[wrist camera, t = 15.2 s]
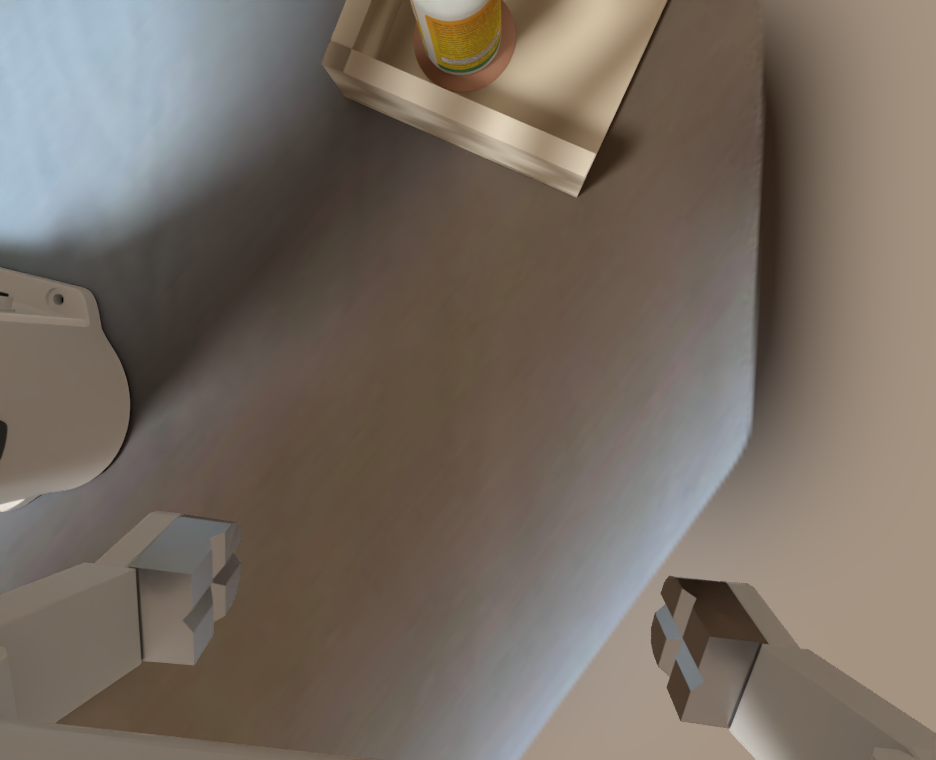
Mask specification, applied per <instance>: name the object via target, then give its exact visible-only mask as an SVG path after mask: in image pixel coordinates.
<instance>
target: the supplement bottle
mask: <svg viewBox="0 0 936 760" xmlns="http://www.w3.org/2000/svg"><path fill="white" fill-rule="evenodd" d="M410 2H411V5H412V8H413V12H414V15H415V18H416V22H417V25H418V29H419V32H420V36H421V39H422V42H423V45H424V48H425V51H426V53H427V55H428V57H429V59H430V60H431V61H432V63H433V64H434V65H435V66H436V67H438V68H439V69H440V70H442V71H444V72H445V73H448V74H452V75H470V74H474V73H476V72H478V71H480V70H482V69H483V68H485V67H486V66H487V65H488V64H489V63H490V62H491V61H492V60H493V58H494V57H495V55H496V53H497V51H498V48H499V45H500V41H501V29H502V25H501V23H502V21H501V0H410Z"/></svg>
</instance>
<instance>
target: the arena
mask: <svg viewBox="0 0 936 760" xmlns="http://www.w3.org/2000/svg"><path fill="white" fill-rule="evenodd" d="M666 2H667V0H501V21H502V23H501V25H502V29H501V41H500V45H499V48H498V51H497V53H496V55H495V57H494V58H493V60H492V61H491V62H490V63H489V64H488V65H487V66H486V67H485V68H483V69H482V70H480V71H478V72H476V73H474V74H470V75H452V74H448V73H445V72H444V71H442V70H440V69H439V68H438V67H436V66H435V65H434V64H433V63H432V61H431V60H430V59H429V57H428V55H427V53H426V51H425V48H424V45H423V42H422V39H421V36H420V32H419V29H418V25H417V22H416V18H415V15H414V12H413V8H412V5H411V2H410V0H346V2H345V4H344V7H343V9H342V12H341V14H340V17H339V20H338V22H337V25H336V27H335V30H334V32H333V35H332V37H331V40H330V42H329V45H328V47H327V50H326V52H325V55H324V57H323V60H322V62H321V64H322V65H323V66H324V68H325V69H326V71H327V72H328V74H329V75H330V77H331V78H332V79H333V81H334V82H335V84H336V85H337V87H338V88H339V90H340V91H341V92H342V94H343V95H344V97H346V98H348V99H351V100H353V101H355V102H358V103H360V104H362V105H364V106H367V107H369V108H371V109H374V110H376V111H378V112H381V113H383V114H385V115H387V116H390V117H392V118H394V119H397V120H399V121H401V122H403V123H406V124H408V125H410V126H413V127H415V128H417V129H420V130H422V131H424V132H426V133H429V134H431V135H433V136H436V137H438V138H440V139H443V140H445V141H447V142H449V143H452V144H454V145H456V146H459V147H461V148H463V149H465V150H468V151H470V152H472V153H475V154H477V155H479V156H482V157H484V158H486V159H488V160H491V161H493V162H495V163H498V164H500V165H502V166H505V167H507V168H509V169H511V170H514V171H516V172H518V173H521V174H523V175H525V176H527V177H530V178H532V179H534V180H537V181H539V182H541V183H544V184H546V185H548V186H550V187H553V188H555V189H557V190H560V191H562V192H564V193H567V194H569V195H571V196H573V197H576V198H577V196H578V194H579V192H580V189H581V187H582V185H583V183H584V181H585V179H586V176H587V174H588V172H589V170H590V168H591V165H592V163H593V161H594V159H595V157H596V155H597V152H598V150H599V148H600V146H601V144H602V142H603V139H604V137H605V135H606V133H607V131H608V128H609V126H610V124H611V122H612V120H613V118H614V115H615V113H616V111H617V109H618V107H619V105H620V102H621V100H622V98H623V96H624V94H625V91H626V89H627V87H628V85H629V83H630V81H631V78H632V76H633V74H634V72H635V70H636V67H637V65H638V63H639V61H640V59H641V57H642V54H643V52H644V50H645V48H646V46H647V44H648V41H649V39H650V37H651V35H652V33H653V30H654V28H655V26H656V24H657V22H658V20H659V17H660V15H661V13H662V11H663V9H664V7H665V4H666Z"/></svg>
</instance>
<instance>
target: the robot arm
mask: <svg viewBox="0 0 936 760" xmlns="http://www.w3.org/2000/svg"><path fill="white" fill-rule="evenodd" d="M62 296H63V298H64V301H63V303H62V301H61V299H62ZM129 416H130V395H129V388H128V383H127V379H126V375H125V372H124V370H123V367H122V364H121V362H120V360H119V358H118V356H117V354H116V353H115V351H114V349H113V348H112V346H111V345H110V343H109V341H108V340H107V338H106V336H105V334H104V332H103V330H102V327H101V321H100V316H99V311H98V306H97V303H96V300H95V298H94V296H93V294H92V293H91V292H90V291H89V290H88V289H86V288H83V287H80V286H76V285H72V284H67V283H63V282H59V281H55V280H51V279H47V278H43V277H39V276H34V275H30V274H26V273H22V272H18V271H14V270H10V269H6V268H2V267H0V512H5V511H9V510H14V509H18V508H20V507H22V506H24V505H26V504H28V503H29V502H31V501H32V500H34V499H35V498H36V497H38V496H39V495H42V494H45V493H51V492H58V491H65V490H69V489H73V488H76V487H78V486H81V485H83V484H85V483H87V482H89V481H91V480H92V479H94V478H95V477H96V476H98V475H99V474H100V473H101V472H103V471H104V470H105V469H106V468H107V467H108V465H109V464H110V463H111V462H112V460H113V459H114V458H115V456H116V455H117V453H118V451H119V449H120V447H121V445H122V443H123V441H124V438H125V435H126V432H127V428H128V423H129ZM240 543H241V530H240V526H239V524H238V523H237V522H234V521H227V520H220V519H214V518H207V517H200V516H193V515H186V514H184V515H182V514H179V513H171V512H162V511H156V512H151V513H149V514H148V515H147V516H146V517H145V518H144V519H143V520H142V521H141V522H139V523H138V524H137V525H136V526H135V527H134V528H133V529H132V530H131V531H129V532H128V533H127V534H126V535H125V536H124V537H123V538H122V539H121V540H120V541H118V542H117V543H116V544H115V545H114V546H113V547H112V548H111V549H110V550H108V551H107V552H106V553H105V554H104V555H103V556H102V557H101V558H100V559H99V560H97V561H96V562H95V563H94V564H93V563H82V564H80V565H77V566H74V567H72V568H69V569H66V570H64V571H61V572H58V573H56V574H53V575H50V576H48V577H45V578H42V579H40V580H37V581H34V582H32V583H29V584H26V585H24V586H21V587H18V588H16V589H13V590H10V591H8V592H5V593H2V594H0V760H379V759H370V758H361V757H351V756H342V755H333V754H324V753H315V752H306V751H297V750H288V749H279V748H270V747H261V746H252V745H243V744H234V743H225V742H216V741H207V740H198V739H189V738H180V737H171V736H162V735H153V734H144V733H135V732H126V731H117V730H108V729H99V728H90V727H81V726H72V725H63V724H54V723H55V722H57V721H58V720H60V719H61V718H63V717H64V716H66V715H67V714H69V713H70V712H71V711H73V710H74V709H76V708H77V707H79V706H80V705H82V704H83V703H85V702H86V701H88V700H89V699H90V698H92V697H93V696H95V695H96V694H98V693H99V692H101V691H102V690H104V689H105V688H107V687H108V686H109V685H111V684H112V683H114V682H115V681H117V680H118V679H120V678H121V677H123V676H124V675H126V674H127V673H129V672H130V671H131V670H133V669H134V668H136V667H137V666H139V665H140V664H141V663H142V662H141V661H151V662H163V663H174V664H186V665H194V664H195V663H196V661H197V659H198V658H199V656H200V655H201V653H202V652H203V650H204V648H205V647H206V645H207V644H208V642H209V641H210V639H211V637H212V636H213V622H214V621H216V620H218V619H220V618H221V617H223V616H225V615H226V613H227V612H228V610H229V608H230V607H231V605H232V603H233V601H234V598H235V595H236V592H237V589H238V586H239V580H240V574H241V562H240V561H239V559H238V558H237V557H236V555H235V554H234V551H235V550H236V548H237V547H238V545H239V544H240ZM661 595H662V597H663V599H664V601H665V603H666V604H665V605H664V606H663V607H662V608H661V609H659V610H658V611H657V612H655V615H654V619H653V623H652V627H651V644H652V649H653V654H654V657H655V659H656V662H657V665H658V667H659V668H661V670H663V671H664V672H665V673H666V674H667V675H668V676H669V677H670V679H669V682H668V685H667V689H668V692H669V694H670V697H671V699H672V701H673V704H674V706H675V709H676V711H677V713H678V716H679V718H680V721H682V722H689V723H696V724H703V725H709V726H716V727H723V728H730V730H729V731H730V732H731V733H732V734H733V735H734V737H735V738H736V739H737V740H738V741H739V742H740V743H741V744H742V745H743V746H744V747H745V748H746V749H747V750H748V751H749V752H750V753H751V755H752V756H753V757H754V758H755V759H756V760H936V733H935V732H933V731H932V730H930V729H929V728H927V727H926V726H924V725H923V724H921V723H920V722H918V721H917V720H915V719H914V718H912V717H910V716H909V715H907V714H906V713H904V712H903V711H901V710H900V709H898V708H897V707H895V706H894V705H892V704H891V703H889V702H888V701H886V700H885V699H883V698H881V697H880V696H879V695H877V694H875V693H874V692H873V691H871V690H870V689H868V688H866V687H865V686H863V685H862V684H860V683H859V682H857V681H856V680H854V679H853V678H851V677H850V676H848V675H847V674H845V673H844V672H842V671H841V670H839V669H838V668H836V667H835V666H833V665H831V664H830V663H829V662H827V661H826V660H824V659H822V658H821V657H819V656H818V655H816V654H815V653H813V652H812V651H810V650H808V649H800V647H799V646H798V645H797V643H796V642H795V641H794V639H793V638H792V637H791V635H789V633H788V631H787V630H786V629H785V628H784V626H783V625H782V624H781V622H780V621H779V620H778V618H777V617H776V616H775V614H774V613H773V612H772V611H771V609H770V608H769V607H768V605H767V604H766V603H765V601H764V600H763V599H762V597H761V596H760V595H759V593H758V592H757V591H756V589H755V588H754V587H752V586H750V585H749V584H747V583H738V582H727V581H720V582H719V581H710V580H701V579H692V578H683V577H674V576H669V577H668V578H667V579H666V581H665V582H664V585H663V588H662V591H661Z"/></svg>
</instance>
